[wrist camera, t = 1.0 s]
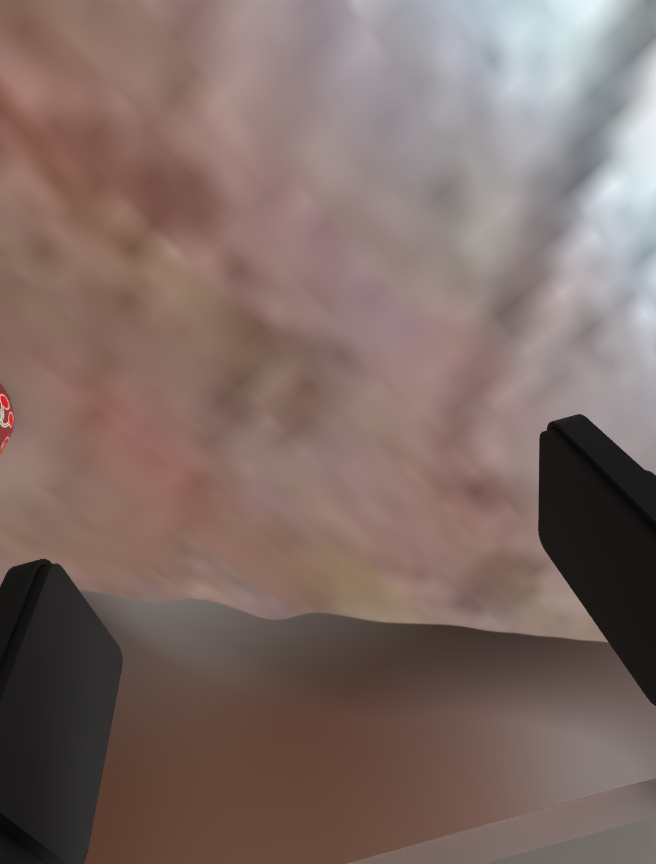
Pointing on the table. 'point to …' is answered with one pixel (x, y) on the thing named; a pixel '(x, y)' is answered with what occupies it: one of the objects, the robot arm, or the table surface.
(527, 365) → the table surface
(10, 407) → the smoothie
